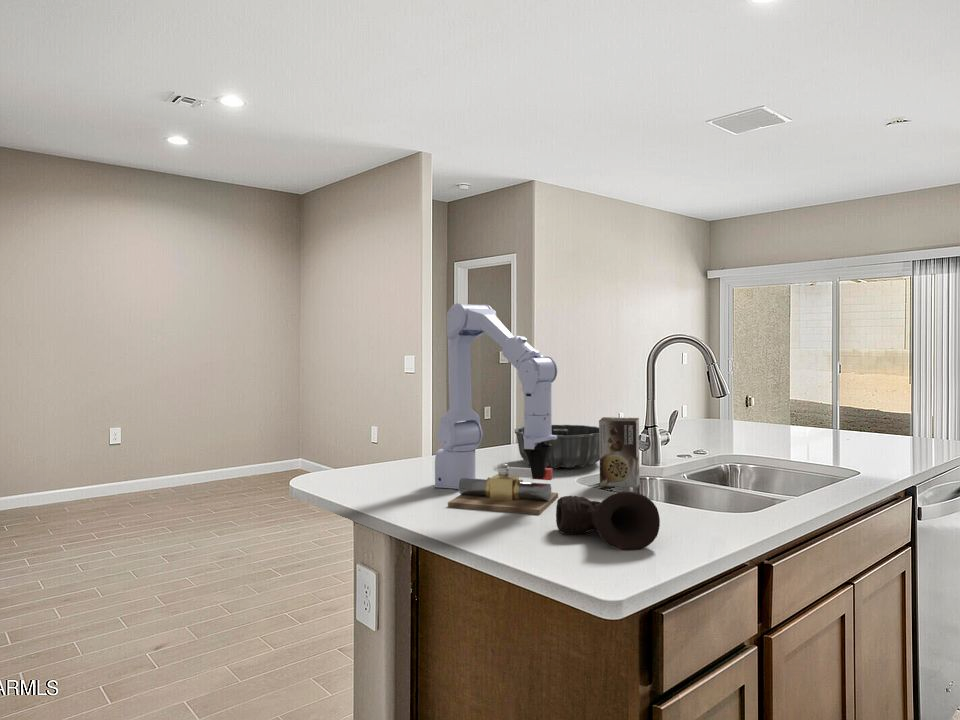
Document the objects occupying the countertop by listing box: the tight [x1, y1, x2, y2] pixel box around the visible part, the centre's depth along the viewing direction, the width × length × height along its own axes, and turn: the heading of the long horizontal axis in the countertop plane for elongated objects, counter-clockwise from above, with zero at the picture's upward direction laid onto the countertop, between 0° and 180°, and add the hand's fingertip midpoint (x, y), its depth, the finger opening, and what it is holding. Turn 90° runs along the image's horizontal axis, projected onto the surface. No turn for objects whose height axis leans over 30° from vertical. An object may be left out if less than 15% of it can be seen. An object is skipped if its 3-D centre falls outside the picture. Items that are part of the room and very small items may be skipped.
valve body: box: [458, 474, 552, 501], centre depth 148 cm, size 20×5×5 cm, turn 70°
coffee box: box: [598, 416, 641, 489], centre depth 165 cm, size 9×6×16 cm
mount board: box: [447, 491, 559, 516], centre depth 148 cm, size 20×16×1 cm
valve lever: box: [497, 463, 554, 481], centre depth 146 cm, size 12×3×3 cm, turn 71°
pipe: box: [555, 491, 661, 551], centre depth 121 cm, size 10×15×15 cm
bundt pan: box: [514, 424, 600, 470], centre depth 193 cm, size 26×26×10 cm
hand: (538, 478), depth 143 cm, fingers closed
